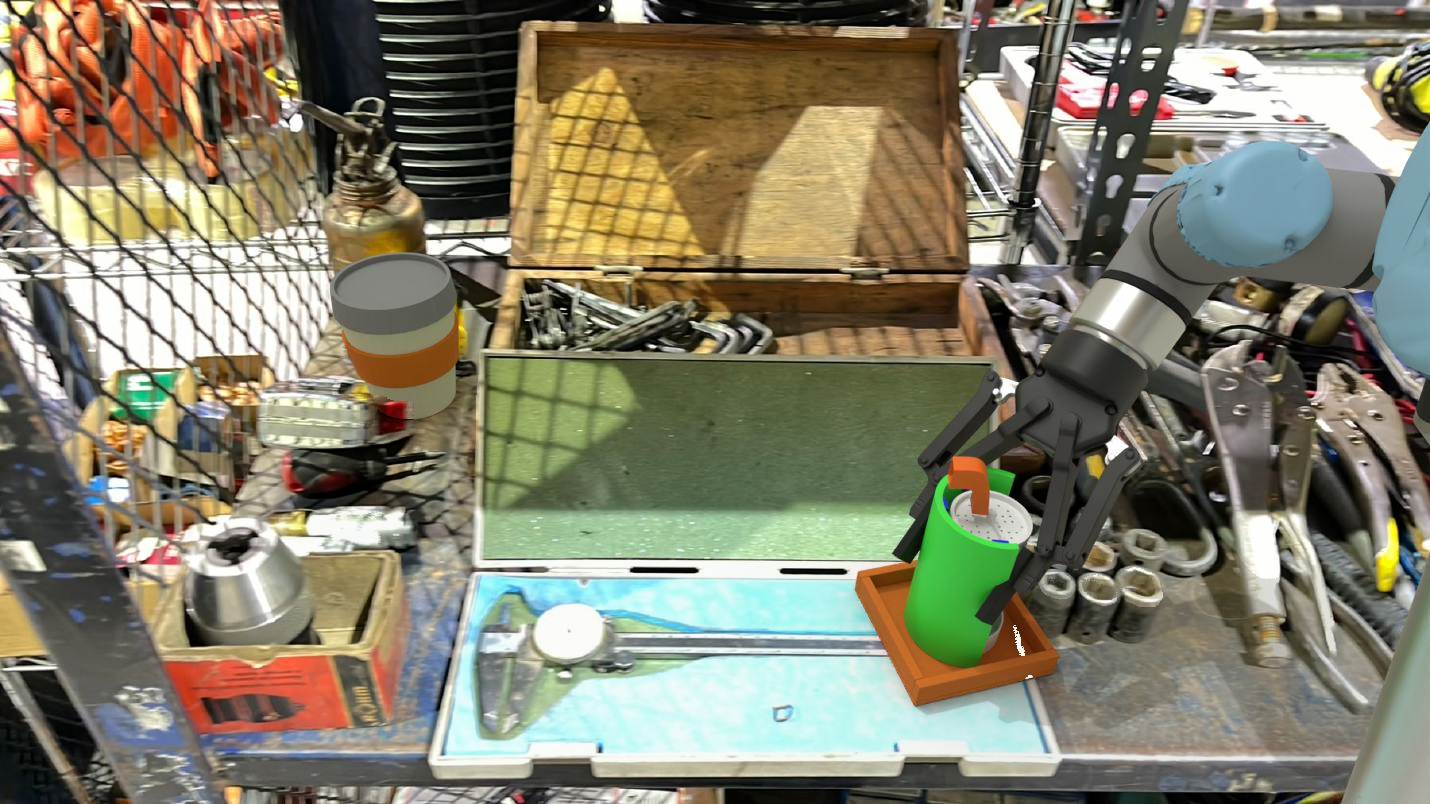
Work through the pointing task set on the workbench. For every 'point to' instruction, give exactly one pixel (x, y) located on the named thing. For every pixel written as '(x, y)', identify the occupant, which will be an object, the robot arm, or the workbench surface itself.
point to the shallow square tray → (936, 679)
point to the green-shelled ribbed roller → (964, 561)
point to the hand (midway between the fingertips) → (940, 588)
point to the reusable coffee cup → (400, 327)
